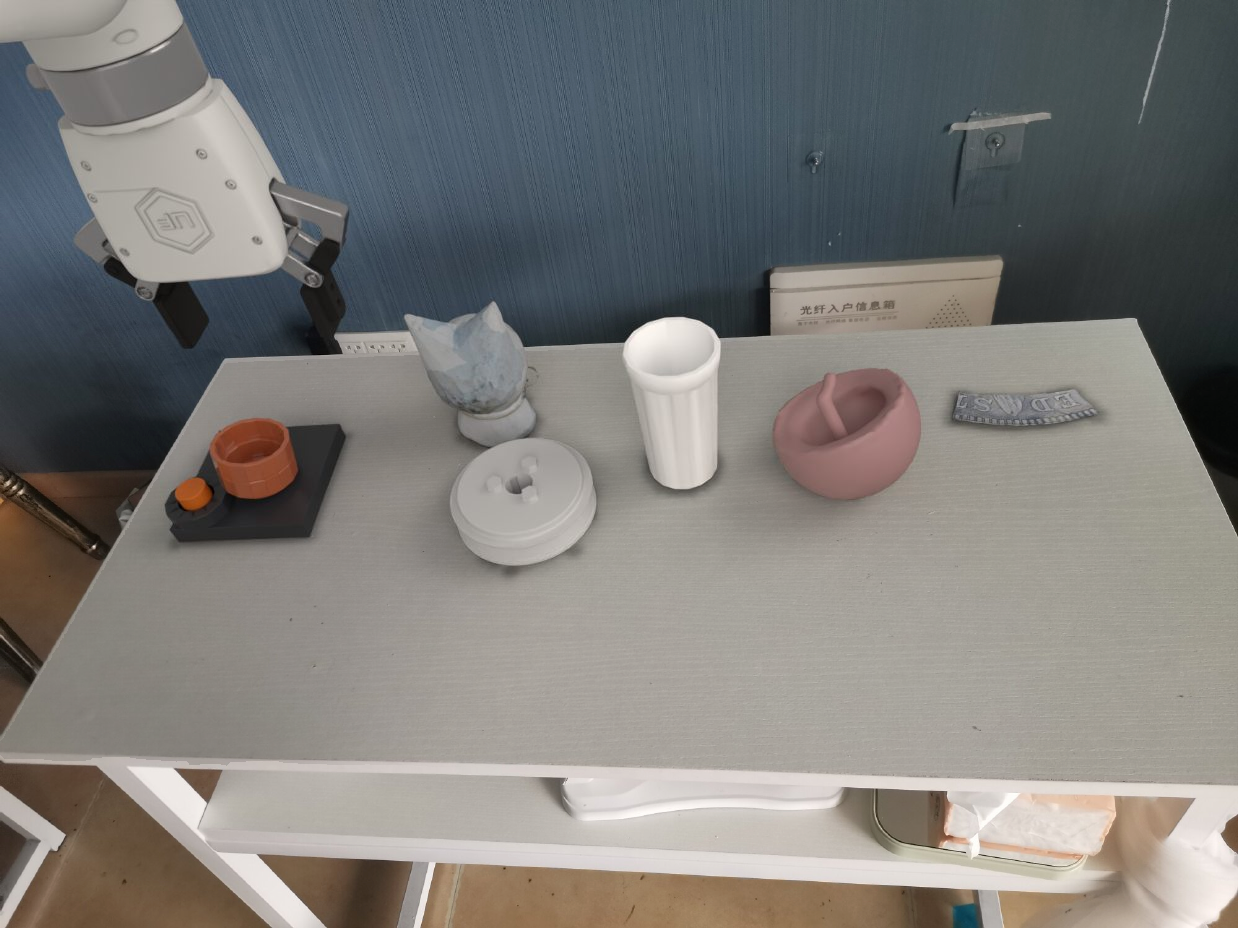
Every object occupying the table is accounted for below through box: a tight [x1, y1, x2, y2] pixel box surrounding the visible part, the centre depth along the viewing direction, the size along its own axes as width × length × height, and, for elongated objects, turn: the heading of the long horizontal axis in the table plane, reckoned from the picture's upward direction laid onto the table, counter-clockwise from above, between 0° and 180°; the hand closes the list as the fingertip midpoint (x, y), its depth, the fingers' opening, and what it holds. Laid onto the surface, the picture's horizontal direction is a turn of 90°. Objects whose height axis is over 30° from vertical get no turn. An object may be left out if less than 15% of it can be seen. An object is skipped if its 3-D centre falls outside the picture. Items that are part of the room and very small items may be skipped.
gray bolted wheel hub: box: [449, 437, 597, 567], centre depth 78 cm, size 13×13×5 cm
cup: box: [621, 316, 722, 490], centre depth 76 cm, size 8×8×14 cm
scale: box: [164, 423, 347, 543], centre depth 85 cm, size 13×13×4 cm
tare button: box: [175, 477, 212, 511], centre depth 82 cm, size 3×3×2 cm
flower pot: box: [209, 417, 298, 499], centre depth 83 cm, size 7×7×4 cm
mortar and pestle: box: [772, 367, 922, 501], centre depth 74 cm, size 12×12×11 cm
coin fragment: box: [952, 388, 1101, 427], centre depth 81 cm, size 13×5×1 cm, turn 85°
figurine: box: [403, 300, 540, 448], centre depth 84 cm, size 10×9×15 cm
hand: (265, 330), depth 59 cm, fingers open, 9 cm apart
